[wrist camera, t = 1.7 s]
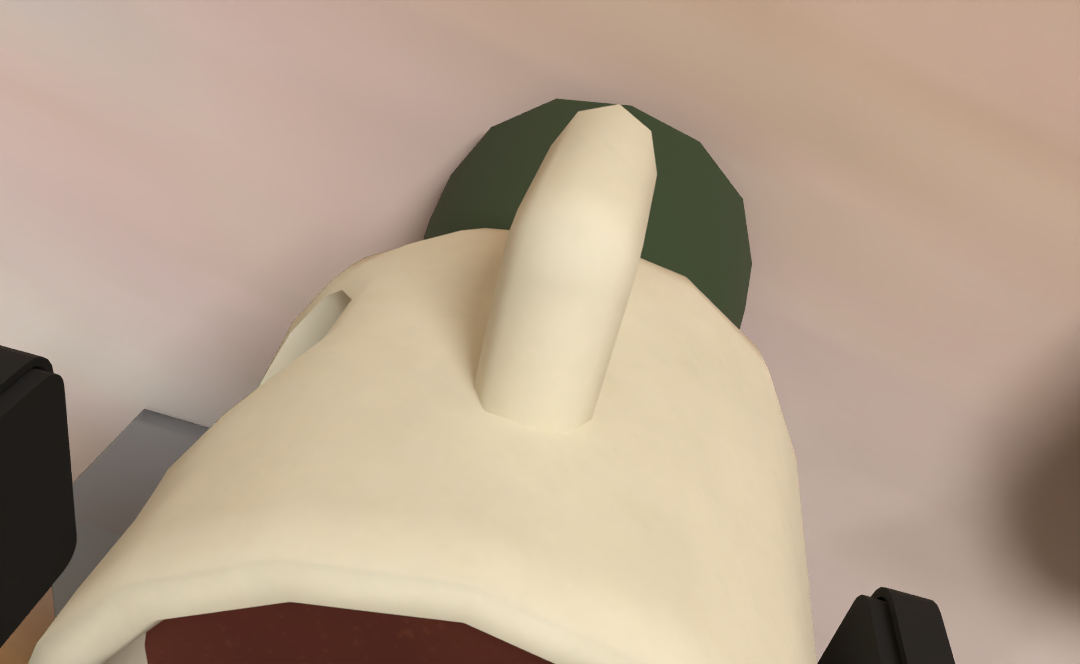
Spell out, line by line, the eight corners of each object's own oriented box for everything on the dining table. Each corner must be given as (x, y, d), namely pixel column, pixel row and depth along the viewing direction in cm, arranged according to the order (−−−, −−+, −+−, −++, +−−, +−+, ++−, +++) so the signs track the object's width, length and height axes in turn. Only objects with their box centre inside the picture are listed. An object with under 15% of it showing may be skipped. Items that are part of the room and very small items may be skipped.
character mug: (473, -86, 16) (-100, 162, 5) (868, 18, 16) (1202, 530, 5) (396, 400, 22) (50, 1017, 11) (684, 482, 21) (635, 1208, 10)
